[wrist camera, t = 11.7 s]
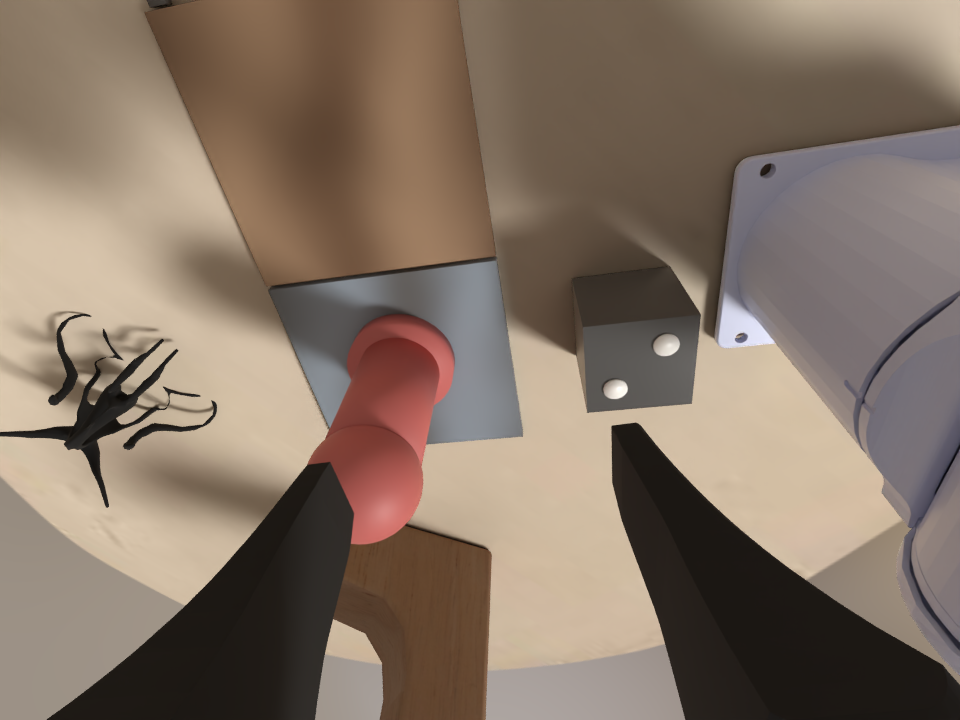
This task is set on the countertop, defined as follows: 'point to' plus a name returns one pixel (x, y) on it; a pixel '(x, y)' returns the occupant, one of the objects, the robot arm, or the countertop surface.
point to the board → (354, 180)
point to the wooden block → (423, 622)
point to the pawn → (387, 421)
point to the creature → (103, 409)
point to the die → (635, 339)
